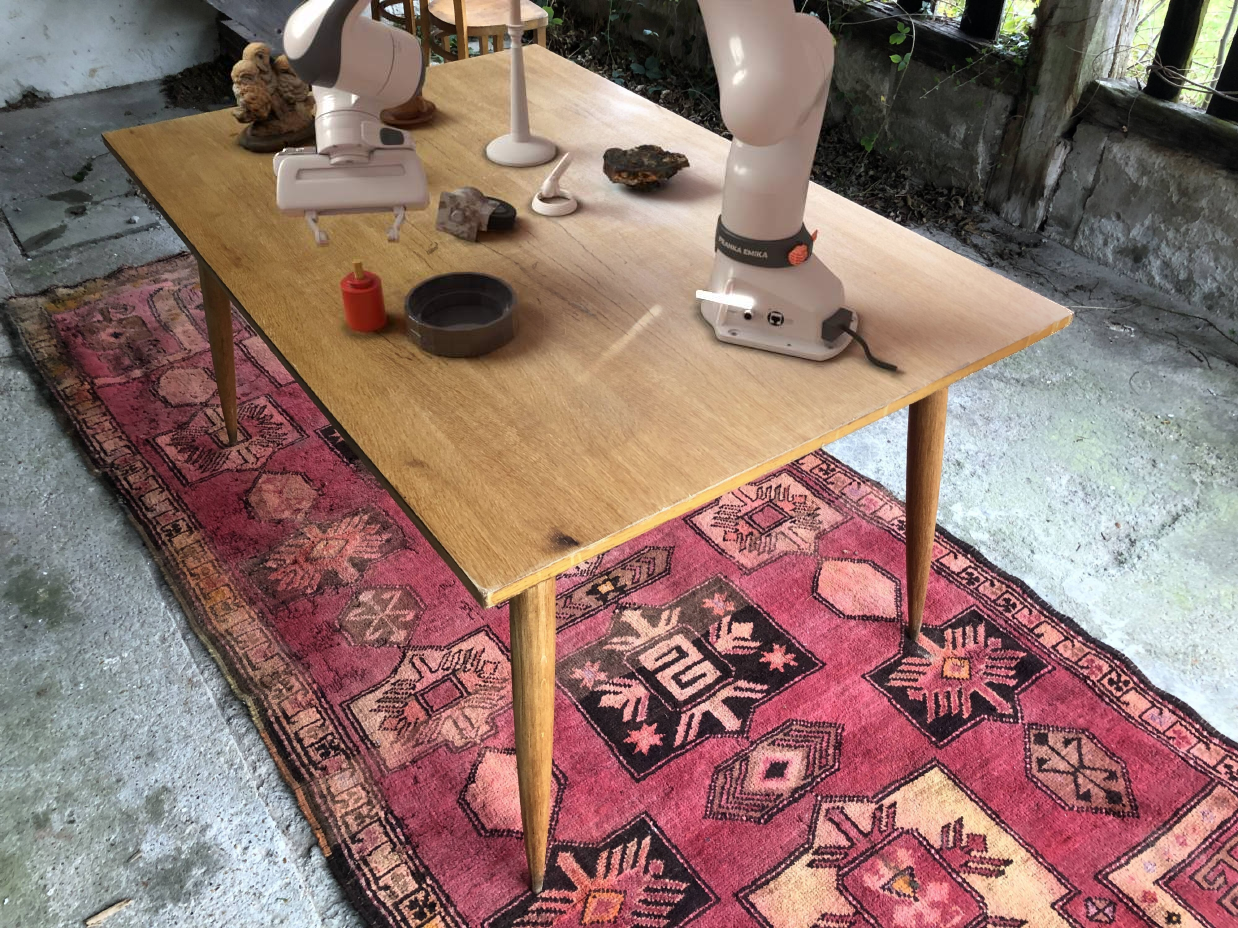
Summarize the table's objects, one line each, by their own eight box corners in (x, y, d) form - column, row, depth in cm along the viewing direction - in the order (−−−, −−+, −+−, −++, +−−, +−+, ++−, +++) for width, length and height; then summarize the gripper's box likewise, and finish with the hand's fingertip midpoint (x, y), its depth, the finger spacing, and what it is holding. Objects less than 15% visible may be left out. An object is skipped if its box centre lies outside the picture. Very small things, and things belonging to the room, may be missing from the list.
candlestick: (553, 168, 177) (548, -10, 157) (482, 165, 177) (469, -12, 157) (557, 139, 187) (554, -31, 167) (491, 137, 187) (479, -34, 167)
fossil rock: (625, 208, 165) (626, 175, 162) (592, 176, 175) (592, 144, 171) (696, 195, 170) (699, 163, 166) (660, 164, 179) (662, 133, 176)
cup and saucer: (446, 110, 196) (443, 79, 192) (423, 133, 187) (419, 101, 183) (390, 104, 198) (386, 73, 194) (364, 126, 189) (360, 94, 185)
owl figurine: (264, 161, 176) (243, 64, 165) (220, 145, 181) (196, 50, 170) (337, 129, 188) (321, 36, 177) (293, 115, 193) (275, 24, 181)
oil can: (395, 322, 138) (386, 257, 131) (370, 340, 134) (358, 275, 127) (366, 311, 140) (355, 247, 133) (340, 329, 136) (327, 264, 129)
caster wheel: (517, 232, 164) (500, 252, 155) (453, 211, 164) (433, 230, 155) (525, 194, 160) (509, 213, 152) (459, 173, 160) (440, 190, 152)
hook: (592, 196, 157) (556, 170, 155) (556, 237, 166) (522, 214, 164) (604, 168, 162) (570, 142, 159) (569, 210, 171) (536, 186, 168)
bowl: (539, 321, 139) (538, 290, 135) (475, 374, 129) (472, 343, 125) (453, 291, 144) (450, 261, 141) (385, 340, 134) (380, 309, 131)
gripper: (266, 139, 129) (274, 241, 128) (423, 132, 132) (431, 232, 131) (276, 157, 136) (284, 255, 135) (426, 151, 138) (434, 246, 138)
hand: (358, 244), depth 133 cm, fingers open, 8 cm apart
